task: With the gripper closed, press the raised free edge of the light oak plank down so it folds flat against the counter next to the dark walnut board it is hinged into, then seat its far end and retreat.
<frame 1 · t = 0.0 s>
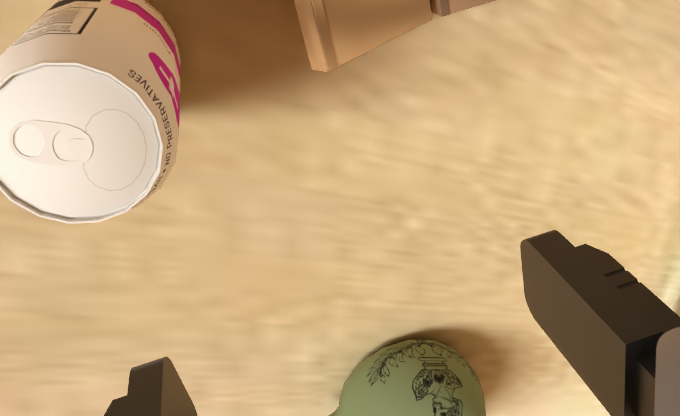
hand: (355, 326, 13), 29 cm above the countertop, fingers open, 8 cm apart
green rounded piece: (384, 385, 56), on the countertop
supplement can: (111, 54, 38), on the countertop
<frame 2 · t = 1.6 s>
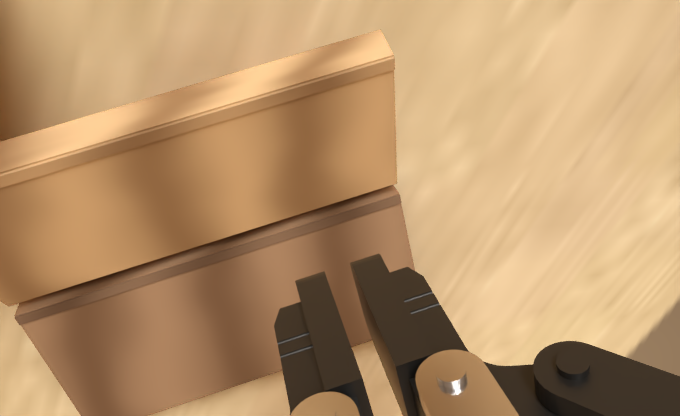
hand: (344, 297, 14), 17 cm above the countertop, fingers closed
walnut board: (236, 301, 34), on the countertop
oak plank: (176, 182, 27), point 3 cm above the countertop, hinge at 28.0°
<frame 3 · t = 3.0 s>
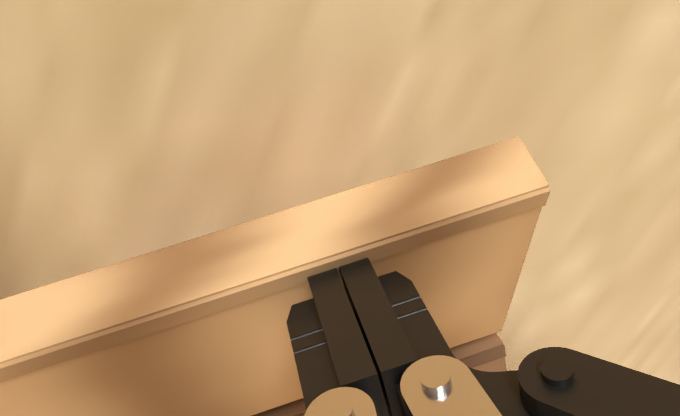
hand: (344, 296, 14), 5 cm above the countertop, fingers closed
oak plank: (177, 362, 17), point 3 cm above the countertop, hinge at 26.9°, touching gripper
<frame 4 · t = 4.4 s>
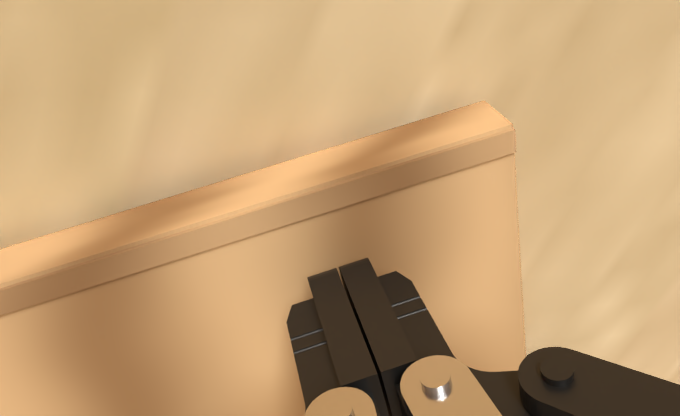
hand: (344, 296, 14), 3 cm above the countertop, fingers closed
oak plank: (158, 373, 16), point 1 cm above the countertop, hinge at 3.0°
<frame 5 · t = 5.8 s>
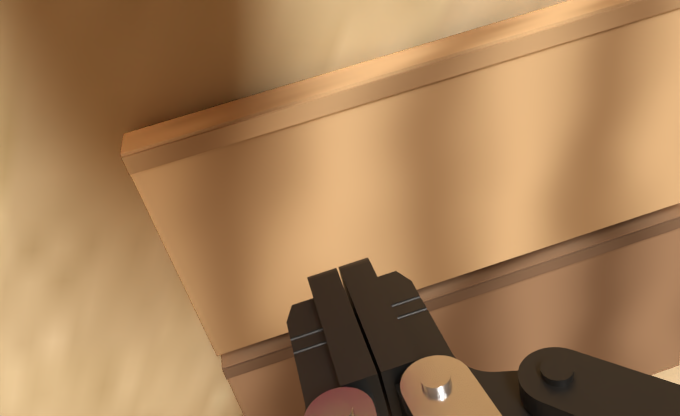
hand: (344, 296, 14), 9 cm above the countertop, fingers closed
walnut board: (462, 342, 28), on the countertop
oak plank: (441, 170, 22), point 1 cm above the countertop, hinge at 3.0°
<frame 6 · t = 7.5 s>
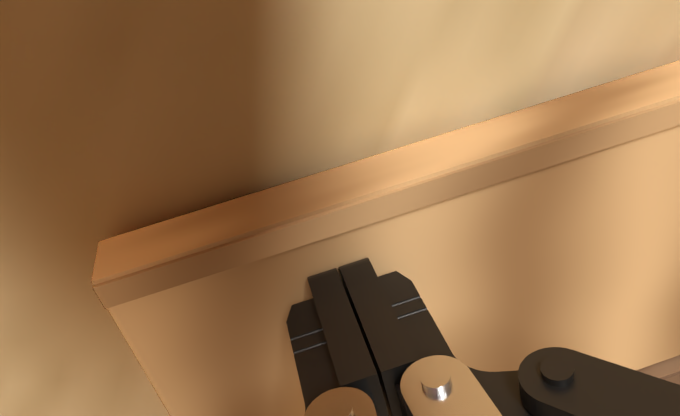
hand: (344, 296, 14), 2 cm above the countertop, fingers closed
oak plank: (533, 274, 16), point 1 cm above the countertop, hinge at 3.0°, touching gripper
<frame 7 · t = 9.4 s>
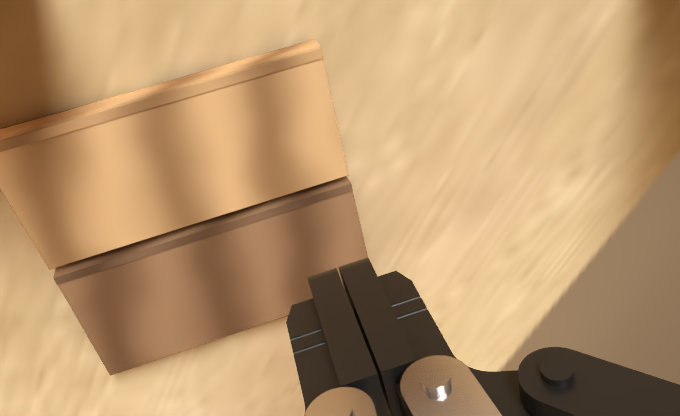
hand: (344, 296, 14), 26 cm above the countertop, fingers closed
walnut board: (225, 269, 44), on the countertop
oak plank: (179, 157, 38), point 1 cm above the countertop, hinge at 3.0°
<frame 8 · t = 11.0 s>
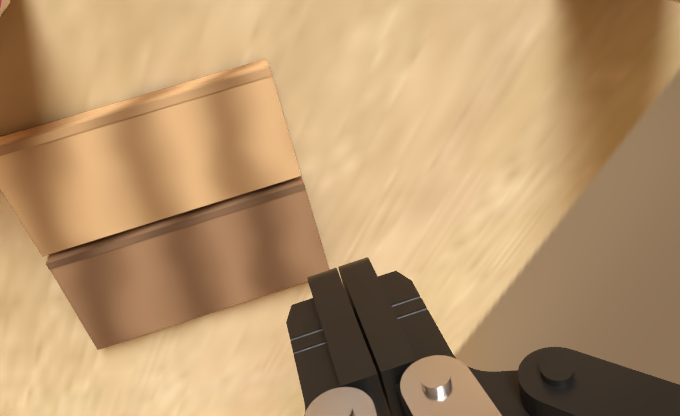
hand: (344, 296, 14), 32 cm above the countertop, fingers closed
walnut board: (197, 258, 50), on the countertop
oak plank: (151, 160, 44), point 1 cm above the countertop, hinge at 3.0°
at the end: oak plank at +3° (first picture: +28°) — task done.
